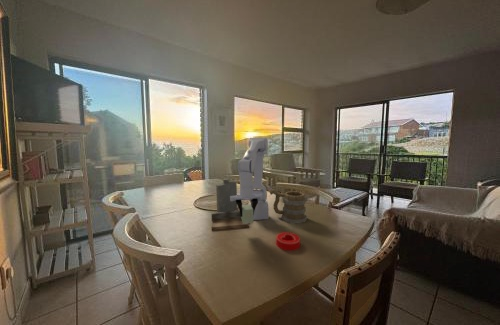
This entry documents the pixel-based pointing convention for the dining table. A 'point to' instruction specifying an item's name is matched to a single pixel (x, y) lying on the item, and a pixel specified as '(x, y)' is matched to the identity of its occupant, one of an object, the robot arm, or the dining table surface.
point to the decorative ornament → (288, 241)
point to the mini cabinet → (247, 214)
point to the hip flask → (226, 196)
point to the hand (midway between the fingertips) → (246, 215)
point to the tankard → (291, 206)
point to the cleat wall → (227, 220)
